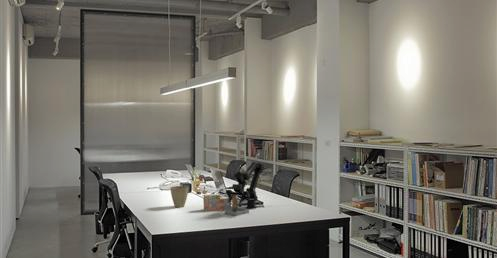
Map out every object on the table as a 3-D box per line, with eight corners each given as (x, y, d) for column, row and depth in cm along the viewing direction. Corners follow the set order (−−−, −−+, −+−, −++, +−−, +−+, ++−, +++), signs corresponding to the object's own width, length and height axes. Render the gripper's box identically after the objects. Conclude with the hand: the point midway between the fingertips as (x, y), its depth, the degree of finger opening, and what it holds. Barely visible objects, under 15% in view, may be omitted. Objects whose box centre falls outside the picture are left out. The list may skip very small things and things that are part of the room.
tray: (237, 210, 377) (237, 207, 376) (248, 212, 368) (248, 209, 368) (224, 213, 366) (224, 210, 366) (235, 215, 358) (235, 212, 358)
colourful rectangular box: (229, 208, 388) (229, 193, 388) (231, 209, 382) (231, 194, 382) (203, 209, 383) (203, 194, 383) (204, 211, 377) (204, 195, 377)
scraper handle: (236, 212, 368) (236, 194, 368) (240, 213, 363) (240, 195, 363) (230, 212, 366) (230, 195, 365) (233, 214, 361) (233, 196, 360)
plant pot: (172, 209, 385) (172, 189, 385) (168, 205, 399) (168, 186, 399) (190, 207, 391) (190, 188, 391) (186, 204, 405) (186, 185, 404)
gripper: (226, 179, 372) (219, 195, 362) (248, 180, 363) (241, 197, 353) (231, 188, 379) (224, 204, 369) (253, 189, 370) (246, 206, 361)
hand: (234, 202), depth 363 cm, fingers open, 9 cm apart
